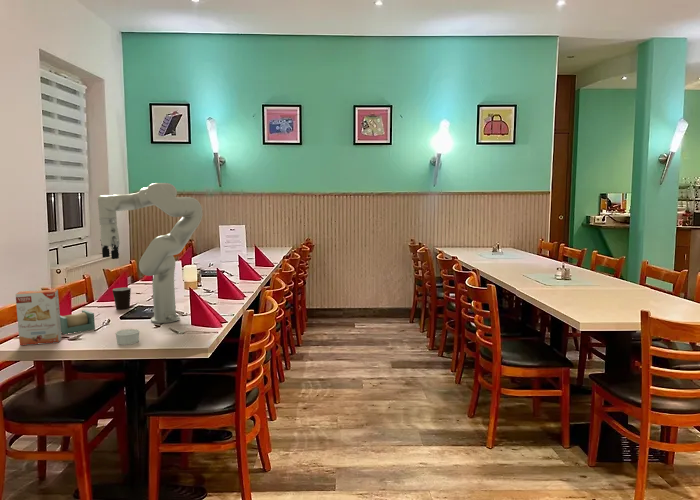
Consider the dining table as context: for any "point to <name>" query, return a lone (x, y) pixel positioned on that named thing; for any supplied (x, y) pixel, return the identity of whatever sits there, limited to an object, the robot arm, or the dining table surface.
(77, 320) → the paper roll
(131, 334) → the ramekin
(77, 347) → the dining table surface
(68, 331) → the roll holder
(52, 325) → the cracker box
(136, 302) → the dining table surface
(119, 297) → the coffee mug
